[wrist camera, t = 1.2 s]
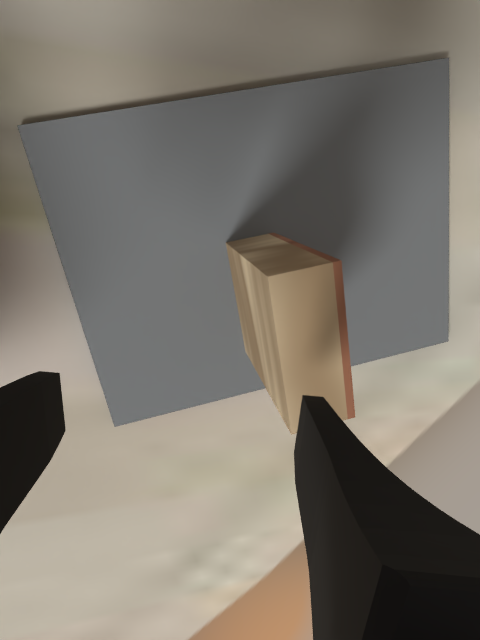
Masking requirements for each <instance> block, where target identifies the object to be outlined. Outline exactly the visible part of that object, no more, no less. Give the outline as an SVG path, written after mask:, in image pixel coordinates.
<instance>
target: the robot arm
mask: <svg viewBox="0 0 480 640" xmlns="http://www.w3.org/2000/svg"><path fill="white" fill-rule="evenodd" d="M64 433H65V421H64V412H63V402H62V393H61V383H60V373H53V372H41V371H39V372H36V373H33V374H30V375H28V376H25V377H23V378H21V379H18V380H16V381H14V382H12V383H9V384H7V385H5V386H3V387H1V388H0V533H1V532H2V530H3V529H4V527H5V525H6V524H7V523H8V521H9V520H10V518H11V517H12V515H13V514H14V513H15V511H16V510H17V508H18V507H19V505H20V504H21V503H22V501H23V500H24V498H25V497H26V495H27V494H28V493H29V491H30V490H31V488H32V487H33V485H34V484H35V482H36V481H37V480H38V478H39V477H40V475H41V474H42V472H43V471H44V469H45V468H46V466H47V465H48V463H49V462H50V460H51V458H52V457H53V455H54V453H55V451H56V449H57V447H58V445H59V443H60V441H61V439H62V437H63V435H64ZM294 462H295V484H296V491H297V497H298V503H299V510H300V516H301V522H302V528H303V534H304V540H305V546H306V552H307V559H308V566H309V577H310V592H311V608H312V623H313V624H312V625H313V640H480V535H479V534H478V533H476V532H474V531H473V530H471V529H469V528H468V527H466V526H465V525H463V524H461V523H460V522H458V521H456V520H455V519H453V518H452V517H450V516H449V515H447V514H446V513H444V512H443V511H441V510H440V509H438V508H437V507H436V506H434V505H433V504H431V503H430V502H428V501H427V500H426V499H424V498H423V497H422V496H420V495H419V494H417V493H416V492H415V491H414V490H412V489H411V488H410V487H408V486H407V485H406V484H405V483H404V482H403V481H401V480H400V479H399V478H398V477H397V476H395V475H394V474H393V473H392V472H391V471H390V470H388V469H387V468H386V467H385V466H384V465H383V464H382V463H381V462H380V461H379V460H378V459H377V458H376V457H375V456H374V455H373V454H372V453H371V452H370V451H369V450H368V449H367V448H366V447H365V446H364V445H363V444H362V443H361V442H360V441H359V440H358V438H357V437H356V436H355V435H354V434H353V433H352V432H351V430H350V429H349V428H348V427H347V426H346V424H345V423H344V422H343V421H342V419H341V418H340V417H339V416H338V414H337V413H336V412H335V411H334V409H333V408H332V407H331V406H330V404H329V403H328V402H327V401H326V399H325V398H324V397H320V396H309V395H302V402H301V409H300V415H299V422H298V429H297V436H296V443H295V450H294Z"/></svg>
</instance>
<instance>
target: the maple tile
mask: <svg viewBox="0 0 480 640" xmlns="http://www.w3.org/2000/svg"><path fill="white" fill-rule="evenodd" d="M226 247H227V253H228V258H229V264H230V269H231V275H232V280H233V286H234V291H235V297H236V302H237V308H238V313H239V319H240V324H241V330H242V335H243V341H244V346H245V352H246V353H247V355H248V357H249V359H250V361H251V362H252V364H253V366H254V368H255V370H256V371H257V373H258V375H259V377H260V379H261V380H262V382H263V384H264V386H265V388H266V389H267V391H268V393H269V395H270V397H271V398H272V400H273V402H274V404H275V406H276V407H277V409H278V411H279V413H280V415H281V417H282V418H283V420H284V422H285V424H286V426H287V427H288V429H289V431H290V433H291V435H292V434H295V433H297V429H298V422H299V415H300V409H301V402H302V395H309V396H320V397H324V398H325V399H326V401H327V402H328V403H329V404H330V406H331V407H332V408H333V409H334V411H335V412H336V413H337V414H338V416H339V417H340V418H341V419H342V421H343V420H346V419H350V418H354V417H355V409H354V398H353V387H352V375H351V364H350V352H349V341H348V329H347V318H346V306H345V295H344V284H343V272H342V261H341V260H339V259H337V258H334V257H332V256H329V255H327V254H325V253H322V252H320V251H317V250H315V249H312V248H310V247H308V246H305V245H303V244H300V243H298V242H295V241H293V240H291V239H288V238H286V237H283V236H281V235H279V234H276V233H270V234H265V235H260V236H255V237H250V238H245V239H240V240H236V241H231V242H226Z"/></svg>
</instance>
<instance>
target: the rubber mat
mask: <svg viewBox="0 0 480 640" xmlns="http://www.w3.org/2000/svg"><path fill="white" fill-rule="evenodd" d="M18 130H19V133H20V136H21V139H22V142H23V145H24V148H25V151H26V154H27V157H28V160H29V164H30V167H31V170H32V173H33V176H34V179H35V182H36V185H37V188H38V191H39V194H40V198H41V201H42V204H43V207H44V210H45V213H46V216H47V219H48V222H49V225H50V229H51V232H52V235H53V238H54V241H55V244H56V247H57V250H58V253H59V256H60V259H61V263H62V266H63V269H64V272H65V275H66V278H67V281H68V284H69V287H70V290H71V293H72V297H73V300H74V303H75V306H76V309H77V312H78V315H79V318H80V321H81V324H82V327H83V331H84V334H85V337H86V340H87V343H88V346H89V349H90V352H91V355H92V358H93V361H94V365H95V368H96V371H97V374H98V377H99V380H100V383H101V386H102V389H103V392H104V395H105V399H106V402H107V405H108V408H109V411H110V414H111V417H112V420H113V423H114V426H115V427H116V426H120V425H124V424H128V423H132V422H136V421H139V420H143V419H147V418H151V417H155V416H159V415H163V414H167V413H171V412H175V411H178V410H182V409H186V408H190V407H194V406H198V405H202V404H206V403H210V402H214V401H218V400H221V399H225V398H229V397H233V396H237V395H241V394H245V393H249V392H253V391H257V390H260V389H264V388H265V386H264V384H263V382H262V380H261V379H260V377H259V375H258V373H257V371H256V370H255V368H254V366H253V364H252V362H251V361H250V359H249V357H248V355H247V353H246V352H245V346H244V341H243V335H242V330H241V324H240V319H239V313H238V308H237V302H236V297H235V291H234V286H233V280H232V275H231V269H230V264H229V258H228V253H227V247H226V242H231V241H236V240H240V239H245V238H250V237H255V236H260V235H265V234H270V233H276V234H279V235H281V236H283V237H286V238H288V239H291V240H293V241H295V242H298V243H300V244H303V245H305V246H308V247H310V248H312V249H315V250H317V251H320V252H322V253H325V254H327V255H329V256H332V257H334V258H337V259H339V260H341V261H342V272H343V284H344V295H345V306H346V318H347V329H348V341H349V352H350V364H351V366H354V365H358V364H362V363H366V362H370V361H374V360H378V359H381V358H385V357H389V356H393V355H397V354H401V353H405V352H409V351H413V350H417V349H420V348H424V347H428V346H432V345H436V344H440V343H444V342H448V279H449V58H444V59H437V60H431V61H424V62H418V63H412V64H405V65H399V66H393V67H386V68H380V69H374V70H367V71H361V72H355V73H348V74H342V75H336V76H329V77H323V78H316V79H310V80H304V81H297V82H291V83H285V84H278V85H272V86H266V87H259V88H253V89H247V90H240V91H234V92H227V93H221V94H215V95H208V96H202V97H196V98H189V99H183V100H177V101H170V102H164V103H158V104H151V105H145V106H139V107H132V108H126V109H119V110H113V111H107V112H100V113H94V114H88V115H81V116H75V117H69V118H62V119H56V120H50V121H43V122H37V123H30V124H24V125H18Z"/></svg>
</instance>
